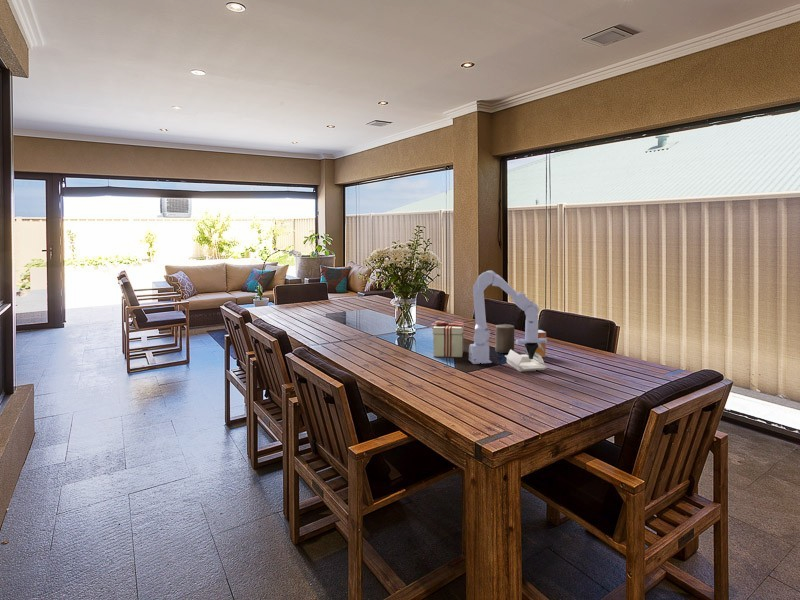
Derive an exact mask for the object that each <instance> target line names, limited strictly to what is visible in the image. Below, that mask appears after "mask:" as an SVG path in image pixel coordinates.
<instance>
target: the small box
mask: <svg viewBox="0 0 800 600" xmlns="http://www.w3.org/2000/svg"><path fill="white" fill-rule="evenodd" d="M538 338H546V339H547V332H546V331H544V330H542V329H538ZM537 344H538V348H537V349H536V351H535V352H536V353H537V354H539V355H541V356H542V357H545V358H546V348H547V347H546V346H547V343H537ZM524 347H525V346H524ZM524 351H525V353H524V354H526V355H528V352H527V349H526V347H525V350H524Z"/></svg>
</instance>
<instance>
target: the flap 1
mask: <svg viewBox="0 0 800 600" xmlns="http://www.w3.org/2000/svg"><path fill="white" fill-rule="evenodd" d="M507 355H508V356H507V357H506V359H507V358H508V359H509V360H510V361H512V362H513V363H515V364H516V365H518V366H519V365H520V363H521V360H522V358H523V357H522V356H521V355H522V354H519V353H517V352H516V351H515V350H514V351H513V350H511V349H510V351H509V353H508V354H507Z"/></svg>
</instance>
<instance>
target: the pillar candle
mask: <svg viewBox="0 0 800 600" xmlns="http://www.w3.org/2000/svg"><path fill="white" fill-rule="evenodd" d="M494 342H495V347H494V348H495V349H494V350H495V352H496V353H498V352H499V354H503V353H509V351H510V349H511V350H513V351H514V352H515V326H514V325H512V324H506V323H504V324H496V325H495V341H494Z"/></svg>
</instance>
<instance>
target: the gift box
mask: <svg viewBox="0 0 800 600" xmlns="http://www.w3.org/2000/svg"><path fill="white" fill-rule="evenodd" d="M430 325H431V326H433V327H432V336H433V345H432V346H433V357H436V358H437V357H438V358H439V357H440V358H441V357H442V358H463V353H464V330H465V329H464V327H465V326H464V325H465V322H463V321H459V320H456V321H452V322H447V321H444V320H436V321H434V323H431V324H430Z"/></svg>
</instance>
